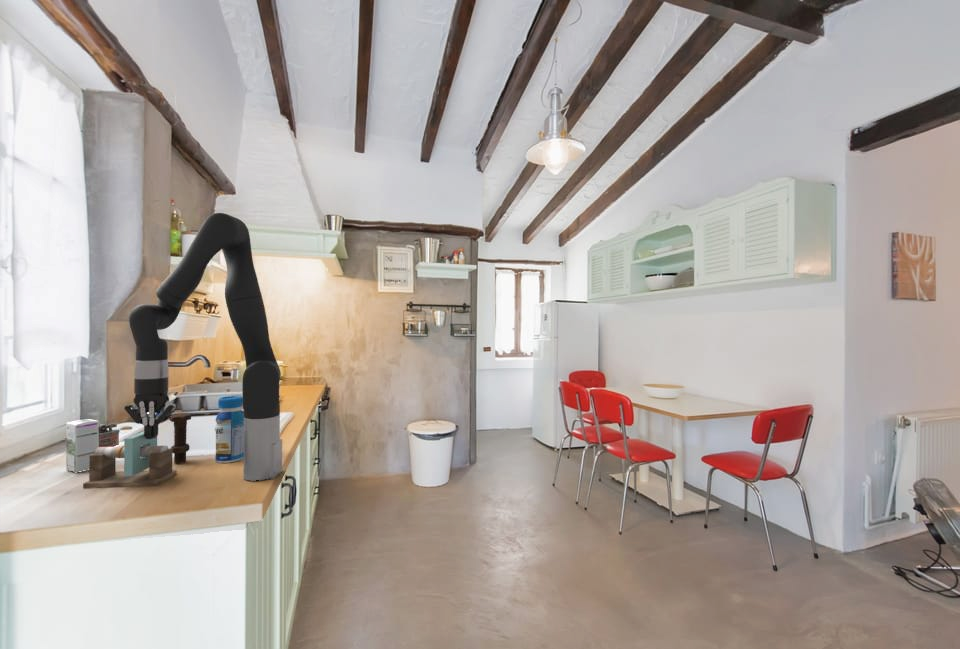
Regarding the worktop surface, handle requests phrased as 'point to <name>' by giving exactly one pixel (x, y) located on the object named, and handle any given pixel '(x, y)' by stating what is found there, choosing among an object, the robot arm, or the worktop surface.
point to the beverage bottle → (230, 430)
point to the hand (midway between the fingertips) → (151, 438)
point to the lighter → (108, 435)
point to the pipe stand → (106, 475)
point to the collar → (136, 453)
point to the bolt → (180, 437)
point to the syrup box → (81, 443)
